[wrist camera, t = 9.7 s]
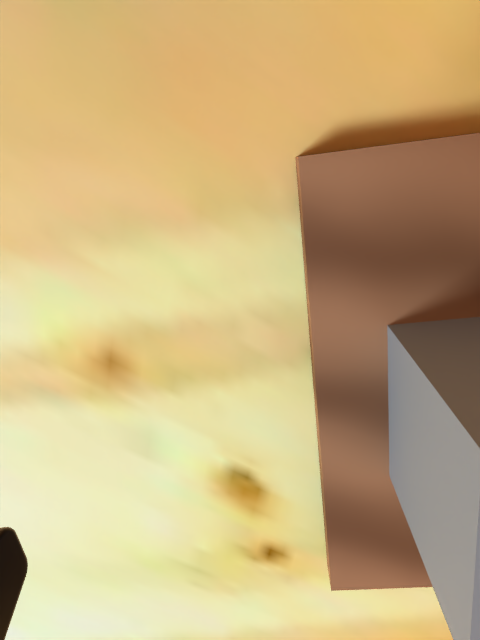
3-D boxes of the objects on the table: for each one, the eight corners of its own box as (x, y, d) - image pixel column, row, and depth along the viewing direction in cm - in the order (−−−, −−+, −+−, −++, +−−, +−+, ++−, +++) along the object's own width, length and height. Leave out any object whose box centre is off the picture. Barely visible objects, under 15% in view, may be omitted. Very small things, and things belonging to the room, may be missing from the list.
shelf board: (295, 157, 17) (302, 155, 13) (644, 111, 15) (747, 96, 12) (327, 564, 23) (337, 631, 20) (576, 553, 22) (631, 622, 19)
